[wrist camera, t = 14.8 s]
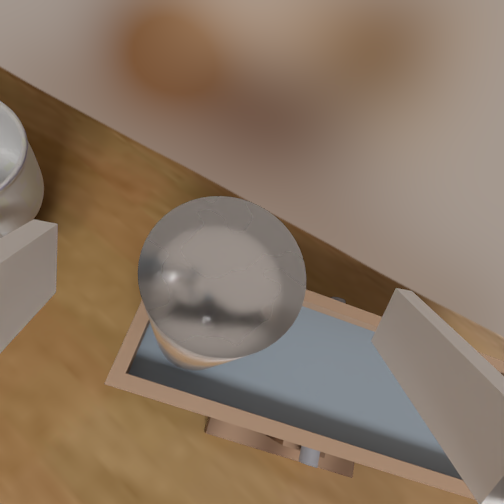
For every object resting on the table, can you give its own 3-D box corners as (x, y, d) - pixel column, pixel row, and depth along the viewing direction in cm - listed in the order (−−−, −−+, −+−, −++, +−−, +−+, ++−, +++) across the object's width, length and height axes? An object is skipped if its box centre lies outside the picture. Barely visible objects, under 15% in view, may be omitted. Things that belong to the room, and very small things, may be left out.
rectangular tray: (105, 400, 20) (95, 404, 17) (174, 243, 24) (174, 226, 21) (480, 515, 22) (523, 534, 19) (478, 354, 27) (513, 351, 24)
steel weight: (142, 355, 19) (105, 323, 8) (173, 279, 21) (177, 174, 10) (221, 381, 20) (285, 382, 9) (245, 304, 22) (319, 228, 11)
